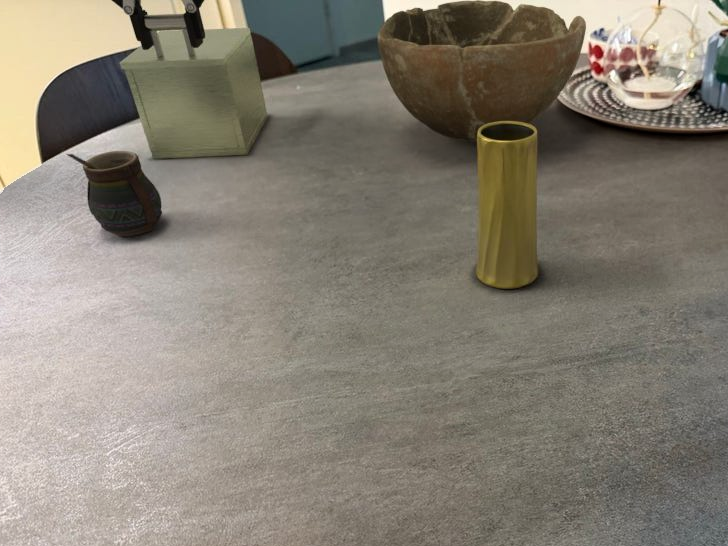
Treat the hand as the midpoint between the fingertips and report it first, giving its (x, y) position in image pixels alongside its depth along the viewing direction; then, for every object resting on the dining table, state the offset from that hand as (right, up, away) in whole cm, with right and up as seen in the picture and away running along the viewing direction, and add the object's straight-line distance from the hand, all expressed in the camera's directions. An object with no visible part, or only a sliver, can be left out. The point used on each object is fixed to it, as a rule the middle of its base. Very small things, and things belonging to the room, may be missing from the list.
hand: (173, 44), depth 88 cm
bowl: (+39, -7, +13) cm, 42 cm away
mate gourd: (0, -25, -9) cm, 27 cm away
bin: (0, -7, +14) cm, 15 cm away
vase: (+41, -31, -19) cm, 55 cm away
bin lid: (0, +2, +6) cm, 6 cm away
